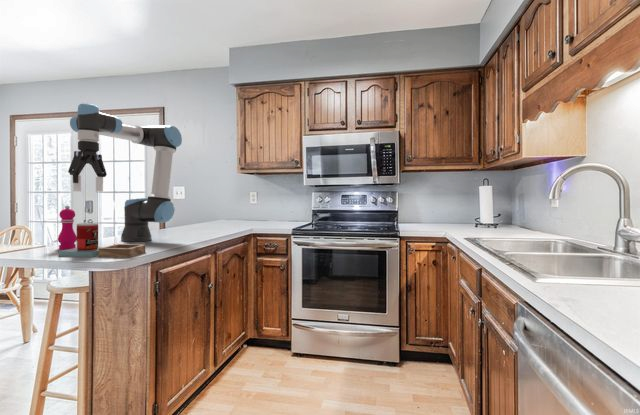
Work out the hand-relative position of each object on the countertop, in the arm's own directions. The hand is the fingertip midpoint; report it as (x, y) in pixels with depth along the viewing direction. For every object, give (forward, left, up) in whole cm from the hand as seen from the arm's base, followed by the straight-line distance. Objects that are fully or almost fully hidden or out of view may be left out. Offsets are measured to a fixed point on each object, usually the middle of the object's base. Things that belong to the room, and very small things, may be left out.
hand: (88, 191), depth 151 cm
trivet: (+1, 0, -27) cm, 27 cm away
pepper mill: (-11, -18, -27) cm, 34 cm away
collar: (0, +15, -27) cm, 31 cm away
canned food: (0, 0, -25) cm, 25 cm away
